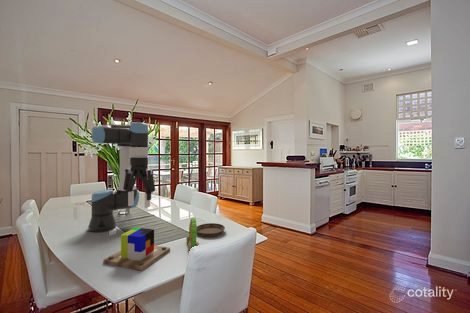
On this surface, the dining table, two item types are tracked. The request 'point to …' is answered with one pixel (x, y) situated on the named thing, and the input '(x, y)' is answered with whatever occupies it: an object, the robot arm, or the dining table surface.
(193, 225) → the green upright piece
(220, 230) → the plant saucer
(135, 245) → the puzzle toy
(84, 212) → the dining table surface
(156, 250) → the base plate
